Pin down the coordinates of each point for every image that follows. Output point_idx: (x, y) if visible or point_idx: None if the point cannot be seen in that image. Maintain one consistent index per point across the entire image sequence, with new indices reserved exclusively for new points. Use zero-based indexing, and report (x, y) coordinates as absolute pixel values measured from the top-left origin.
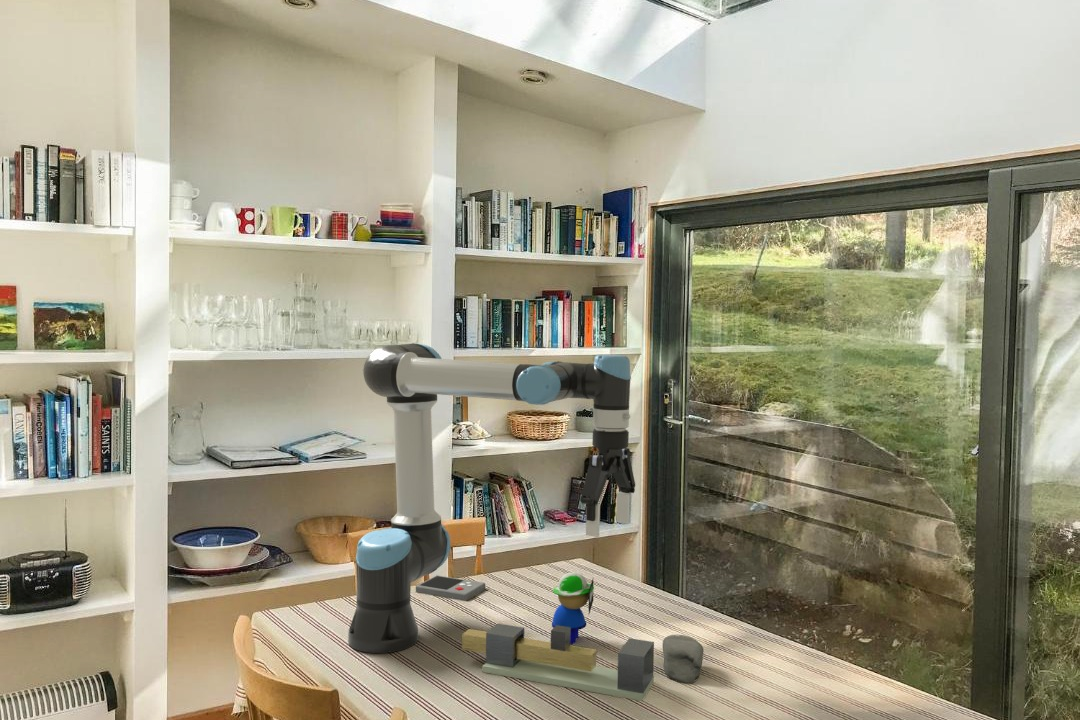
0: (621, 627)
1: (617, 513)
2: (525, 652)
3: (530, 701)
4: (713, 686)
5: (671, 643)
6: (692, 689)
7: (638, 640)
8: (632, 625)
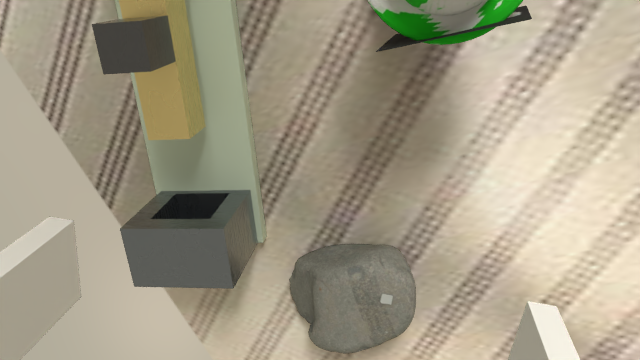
0: (599, 61)
1: (542, 357)
2: None
3: (32, 25)
4: (307, 338)
5: (334, 292)
6: (273, 307)
7: (221, 252)
8: (629, 88)
